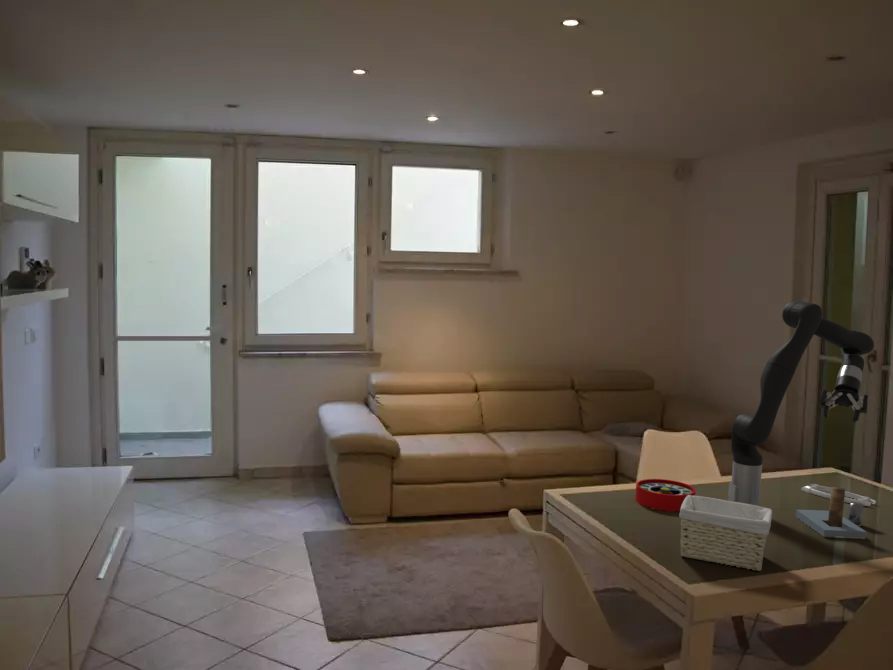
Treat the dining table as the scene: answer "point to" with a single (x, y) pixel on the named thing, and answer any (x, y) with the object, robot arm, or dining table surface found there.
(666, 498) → the toy clock
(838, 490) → the long pin
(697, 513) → the storage basket
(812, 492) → the door handle
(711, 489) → the dining table surface
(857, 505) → the short pin
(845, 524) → the hole board
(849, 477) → the dining table surface
